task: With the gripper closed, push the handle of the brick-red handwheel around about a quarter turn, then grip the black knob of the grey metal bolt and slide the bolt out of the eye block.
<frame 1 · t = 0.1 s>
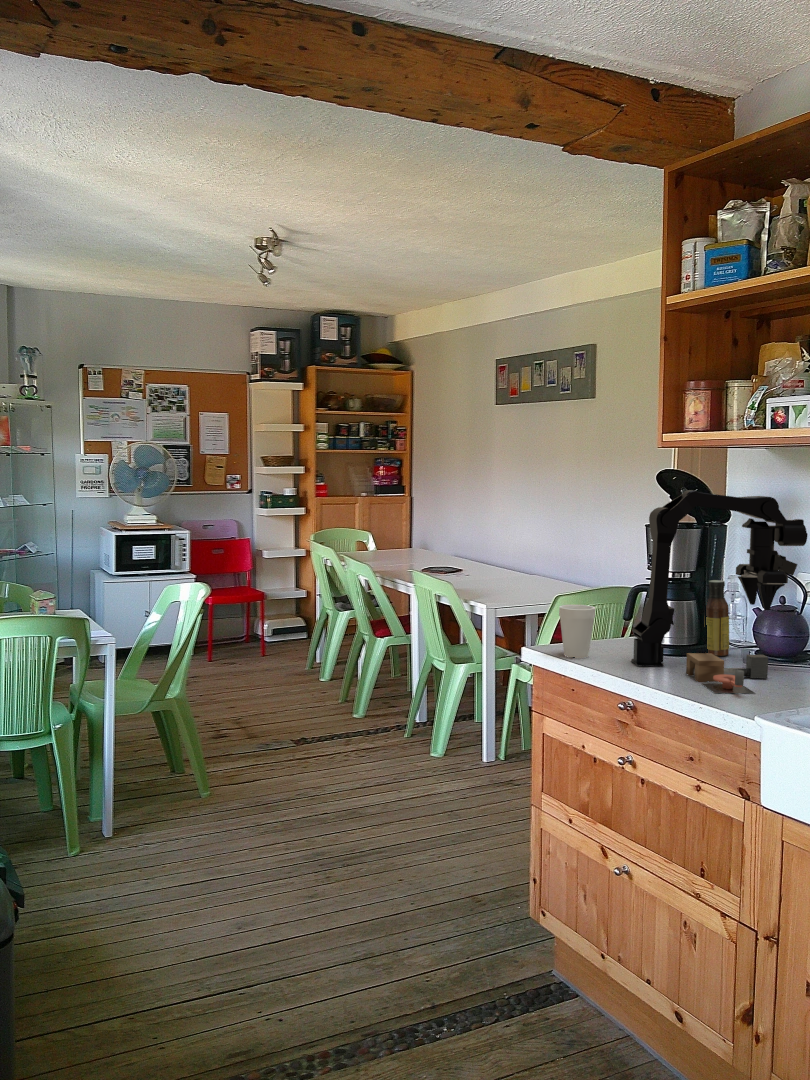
hand: (759, 607, 236), 15 cm above the worktop, tool pointing down, fingers open, 9 cm apart
brown square plate: (727, 688, 211), on the worktop
bolt: (729, 666, 222), point 3 cm above the worktop, slide at 0.0 cm
eye block: (704, 677, 222), on the worktop
foam cup: (576, 656, 246), on the worktop
sauce bottle: (716, 655, 249), on the worktop
handwheel: (731, 678, 209), point 3 cm above the worktop, hinge at 0.0°
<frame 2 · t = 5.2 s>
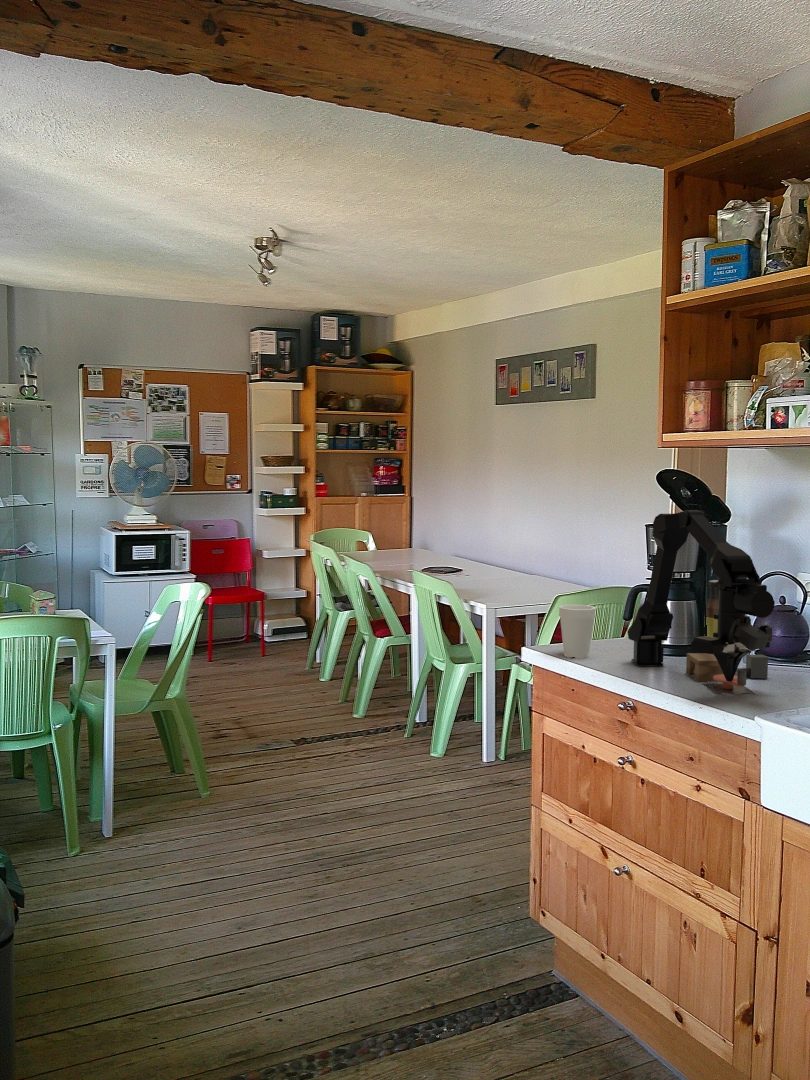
hand: (729, 681, 204), 3 cm above the worktop, tool pointing down, fingers closed
handwheel: (732, 678, 209), point 3 cm above the worktop, hinge at 4.7°, touching gripper
everything else where it was.
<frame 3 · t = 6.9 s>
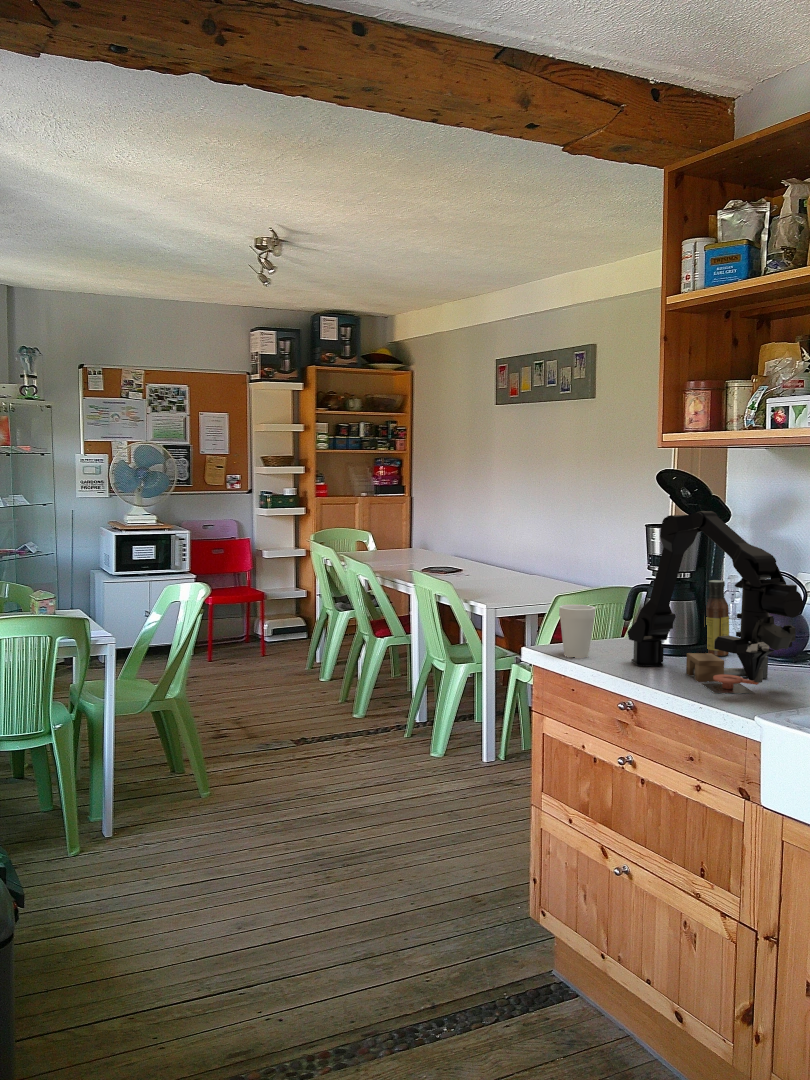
hand: (751, 680, 206), 3 cm above the worktop, tool pointing down, fingers closed
handwheel: (737, 677, 209), point 3 cm above the worktop, hinge at 54.4°, touching gripper
everything else where it was.
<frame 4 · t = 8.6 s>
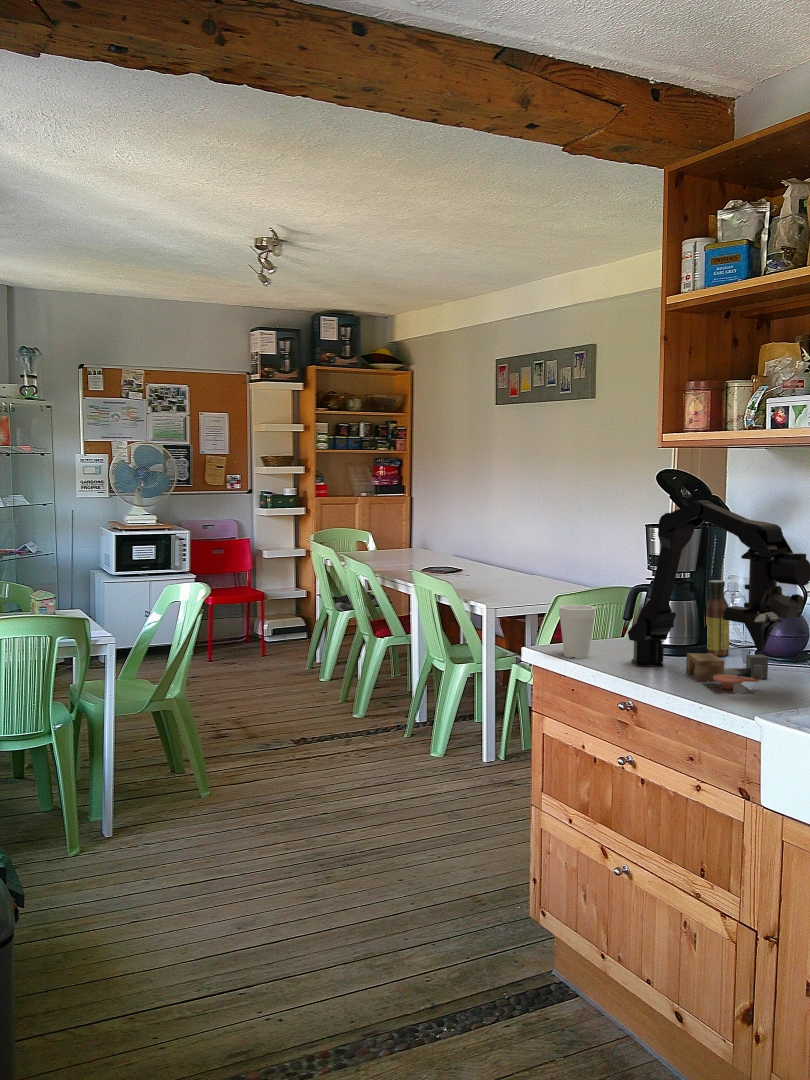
hand: (760, 650, 207), 10 cm above the worktop, tool pointing down, fingers closed
handwheel: (737, 676, 210), point 3 cm above the worktop, hinge at 80.3°
everything else where it was.
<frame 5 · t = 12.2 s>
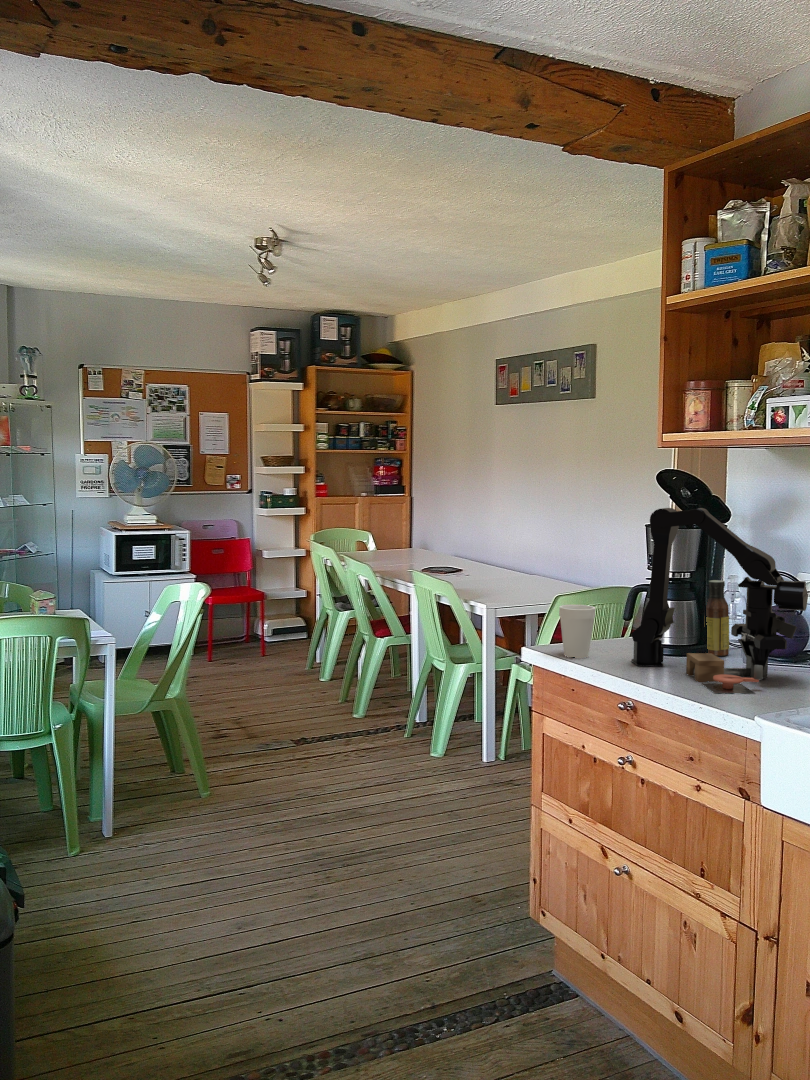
hand: (756, 671, 222), 1 cm above the worktop, tool pointing down, fingers closed on bolt, 3 cm apart
bolt: (729, 666, 222), point 3 cm above the worktop, slide at 0.0 cm, touching gripper
everything else where it was.
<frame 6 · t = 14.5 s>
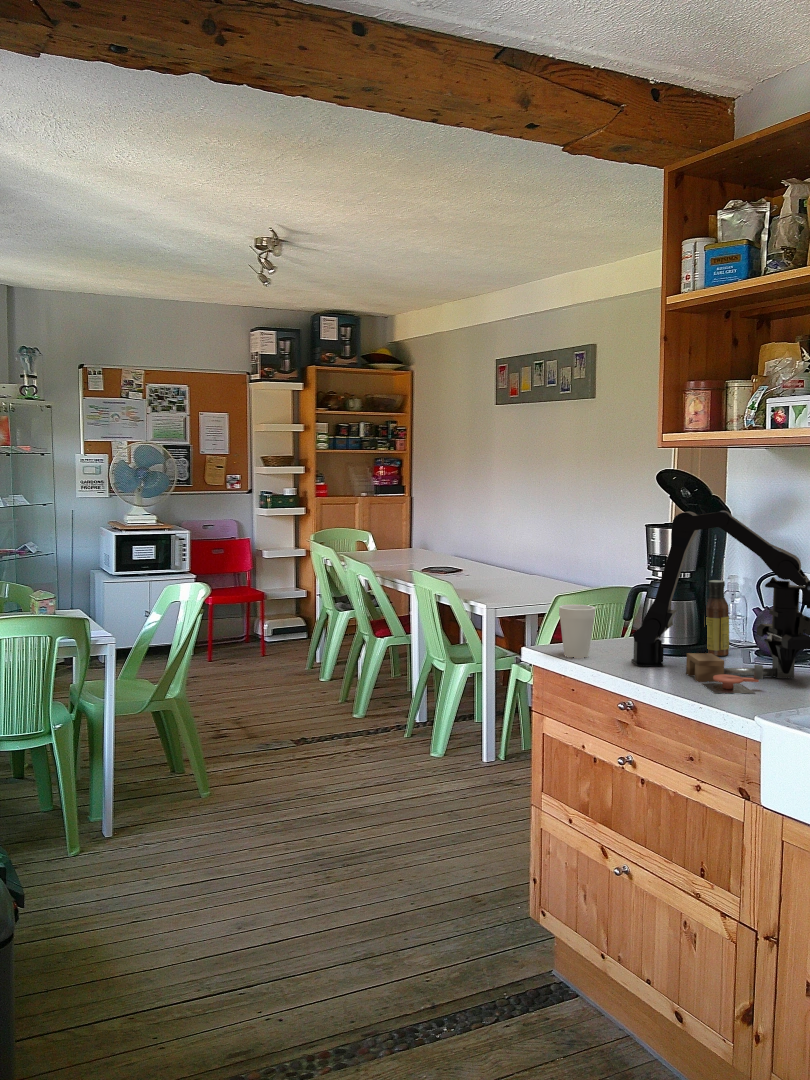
hand: (783, 671, 222), 1 cm above the worktop, tool pointing down, fingers closed on bolt, 3 cm apart
bolt: (756, 666, 222), point 3 cm above the worktop, slide at 6.4 cm, touching gripper
everything else where it was.
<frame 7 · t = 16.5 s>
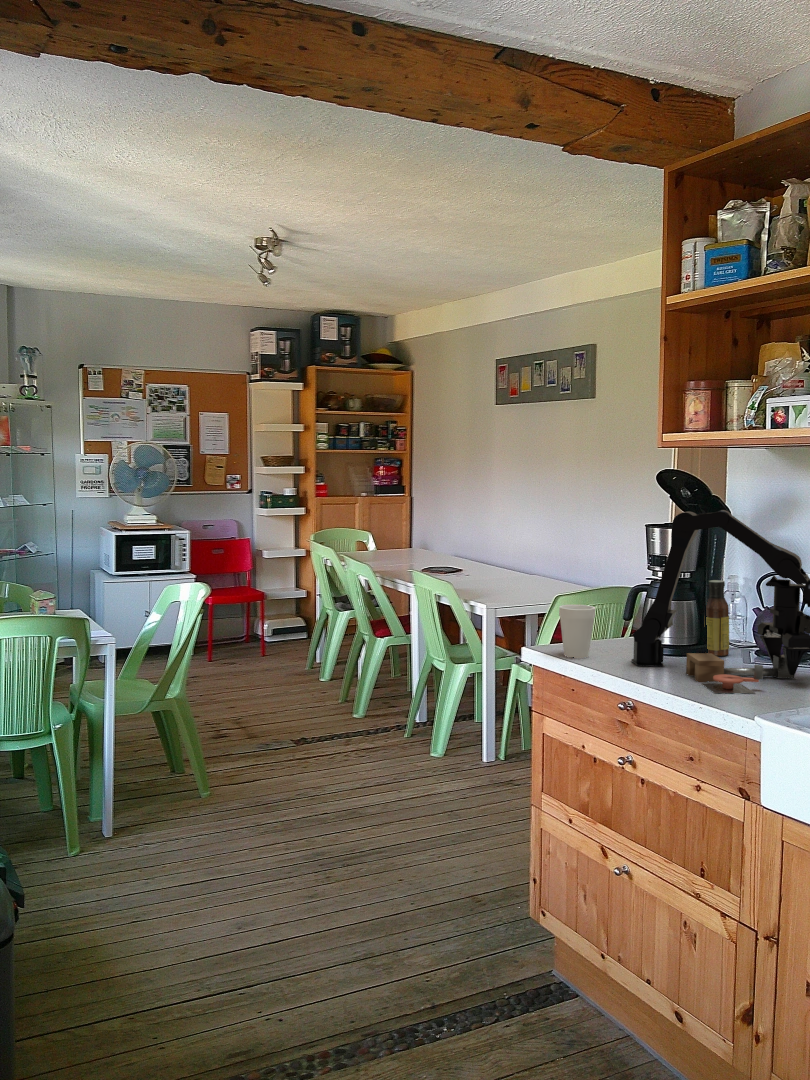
hand: (783, 670, 222), 2 cm above the worktop, tool pointing down, fingers open, 9 cm apart
bolt: (756, 666, 222), point 3 cm above the worktop, slide at 6.5 cm
everything else where it was.
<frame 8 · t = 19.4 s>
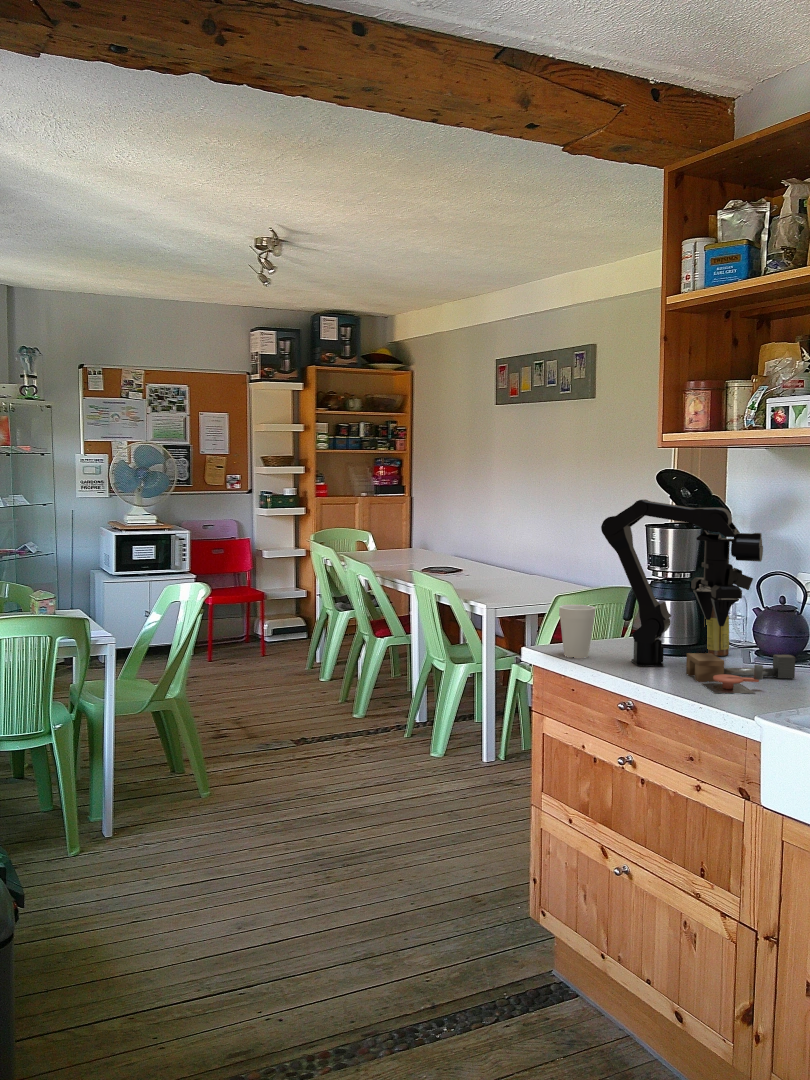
hand: (714, 622, 228), 12 cm above the worktop, tool pointing down, fingers open, 9 cm apart
nothing on the worktop moved.
at the end: handwheel at +80° (first picture: +0°); bolt slide at 6.5 cm; the gripper is holding nothing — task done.
